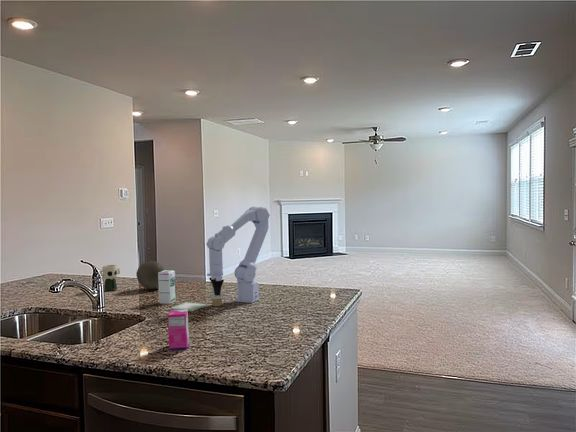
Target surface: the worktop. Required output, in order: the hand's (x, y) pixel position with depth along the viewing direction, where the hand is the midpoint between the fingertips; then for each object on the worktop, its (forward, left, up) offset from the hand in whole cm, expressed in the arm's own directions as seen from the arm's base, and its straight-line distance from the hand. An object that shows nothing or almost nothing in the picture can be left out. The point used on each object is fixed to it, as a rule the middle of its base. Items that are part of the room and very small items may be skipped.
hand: (216, 294), depth 199 cm
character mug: (+71, -11, -5) cm, 72 cm away
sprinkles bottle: (0, 0, -5) cm, 5 cm away
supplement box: (-17, +52, -5) cm, 55 cm away
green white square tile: (+10, +7, -5) cm, 13 cm away
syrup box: (+25, +2, -5) cm, 26 cm away
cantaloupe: (+51, -19, -5) cm, 55 cm away
